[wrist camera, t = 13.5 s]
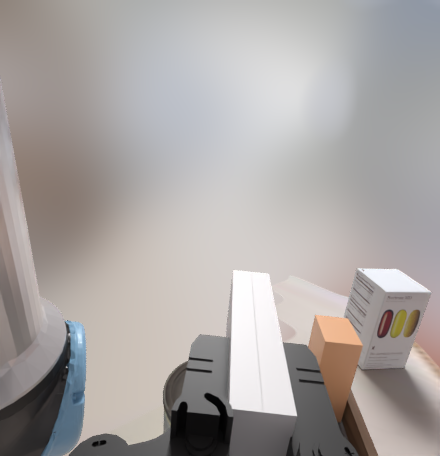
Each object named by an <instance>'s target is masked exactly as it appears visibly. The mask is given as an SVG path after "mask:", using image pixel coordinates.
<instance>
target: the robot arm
mask: <svg viewBox="0 0 440 456" xmlns="http://www.w3.org/2000/svg"><path fill="white" fill-rule="evenodd" d="M85 381H86V340H85V331H84V327H83V325H82V324H81V323H79V322H71V321H68V320H67V321H64V318H63V315H62V313H61V312H60V310H59V309H58V308H57V307H56V306H55V305H54V304H53V303H51V302H50V301H48V300H47V299H45V298H43V297H40V295H39V290H38V285H37V278H36V273H35V267H34V262H33V256H32V250H31V245H30V239H29V234H28V228H27V223H26V217H25V212H24V206H23V200H22V195H21V189H20V184H19V179H18V173H17V167H16V162H15V156H14V151H13V145H12V139H11V134H10V128H9V123H8V117H7V111H6V106H5V100H4V96H3V89H2V84H1V78H0V456H63V455H65V454H67V453H68V452H70V451H71V450H72V449H73V448H74V447H75V446H76V444H77V442H78V441H79V438H80V436H81V431H82V426H83V417H84V403H85V395H84V391H85ZM69 456H359V455H358V453H357V452H356V450H355V448H354V447H353V446H352V444H351V443H350V442H349V441H348V440H347V439H346V438H345V437H343V436H342V433H341V431H340V429H339V426H338V422H337V419H336V416H335V413H334V410H333V407H332V404H331V401H330V398H329V395H328V392H327V389H326V386H325V385H324V380H323V377H322V374H321V373H320V367H319V364H318V361H317V358H316V356H315V355H314V354H313V353H312V351H311V350H310V349H309V348H308V347H307V345H302V344H293V343H284V342H282V338H281V332H280V328H279V322H278V317H277V312H276V307H275V303H274V297H273V292H272V287H271V283H270V278H269V274H266V273H256V272H246V271H237V270H233V276H232V284H231V293H230V302H229V310H228V319H227V332H226V337H220V336H210V335H201V334H200V335H199V336H198V337H197V338H196V340H195V341H194V342H193V343H192V345H191V350H190V355H189V360H188V365H187V370H186V375H185V379H184V384H183V389H182V394H181V396H180V397H179V398H178V399H177V400H176V401H175V403H174V405H173V408H172V410H171V427H170V428H169V429H168V430H167V431H166V432H165V433H164V434H162V435H161V436H159V437H157V438H155V439H152V440H149V441H146V442H142V443H137V444H133V445H128V444H127V443H126V441H125V440H123V439H122V438H120V437H119V436H117V435H112V434H101V435H96V436H92V437H91V438H89V439H87V440H85V441H83V442H82V443H80V444H79V445H78V446H77V447H76V448H75V449H74V450H73V451H72V452H71V453H70V454H69Z"/></svg>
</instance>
